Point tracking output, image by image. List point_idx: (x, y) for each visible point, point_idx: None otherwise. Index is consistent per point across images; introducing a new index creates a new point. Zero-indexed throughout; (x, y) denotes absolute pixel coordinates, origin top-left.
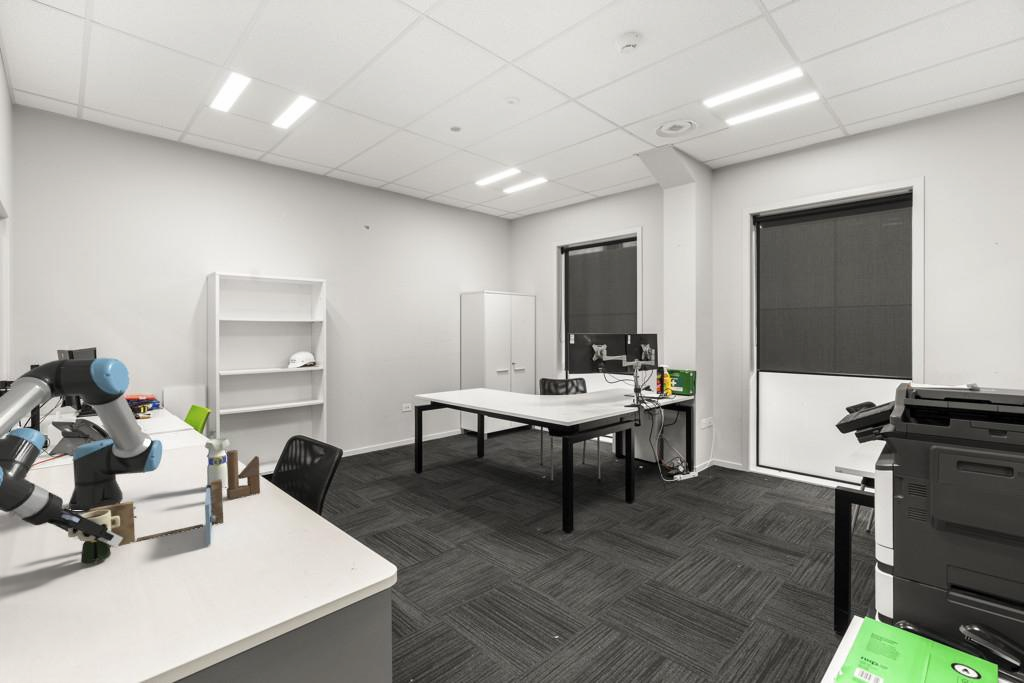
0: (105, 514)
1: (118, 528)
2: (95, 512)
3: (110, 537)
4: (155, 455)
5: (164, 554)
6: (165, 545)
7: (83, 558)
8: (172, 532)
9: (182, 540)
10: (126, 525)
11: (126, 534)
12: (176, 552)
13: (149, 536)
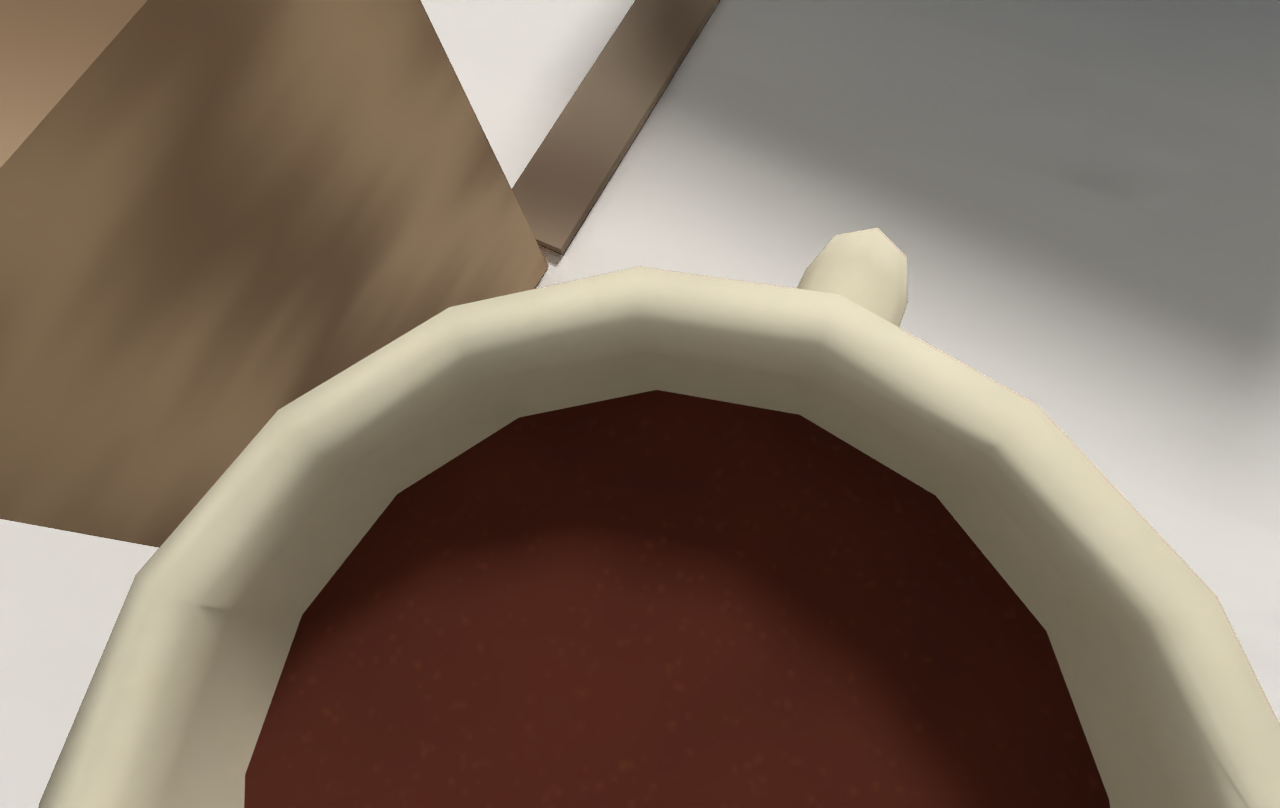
0: (1185, 594)
1: (399, 282)
2: (249, 576)
3: None
4: None
5: (1211, 260)
6: (945, 163)
7: None
8: (688, 17)
9: (967, 44)
10: (440, 199)
11: (482, 268)
12: (1268, 183)
13: (573, 150)
